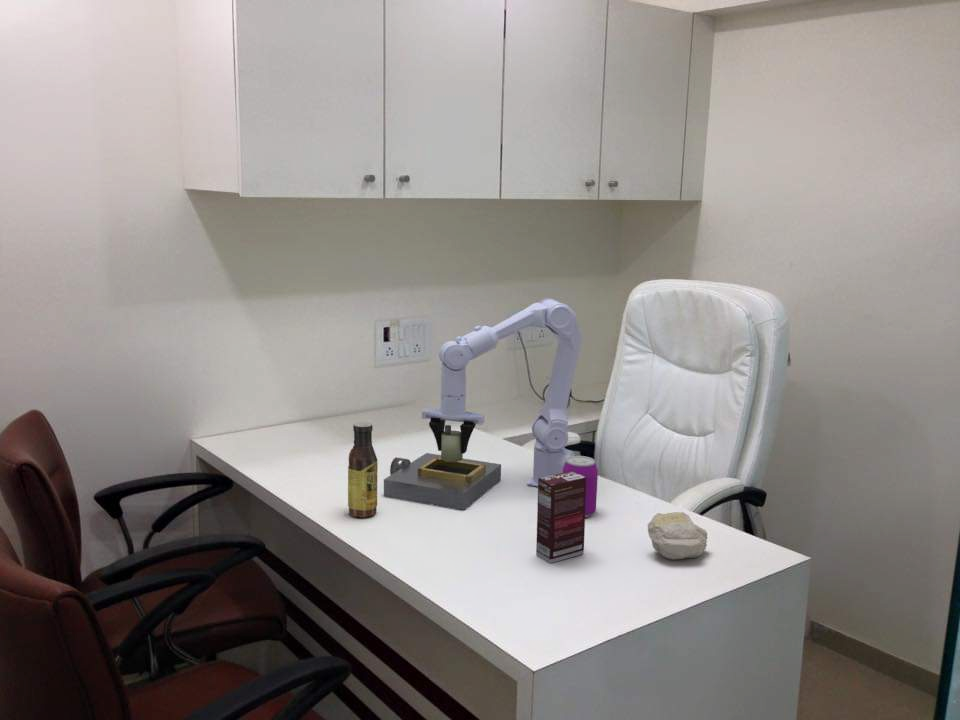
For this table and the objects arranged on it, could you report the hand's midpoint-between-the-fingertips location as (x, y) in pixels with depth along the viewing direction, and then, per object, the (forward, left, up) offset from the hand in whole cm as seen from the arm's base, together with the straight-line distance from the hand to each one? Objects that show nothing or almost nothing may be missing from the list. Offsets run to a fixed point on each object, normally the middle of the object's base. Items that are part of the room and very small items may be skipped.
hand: (452, 451), depth 201 cm
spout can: (0, 0, -2) cm, 2 cm away
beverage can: (-31, +1, -10) cm, 32 cm away
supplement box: (-34, +24, -10) cm, 43 cm away
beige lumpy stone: (-55, +14, -10) cm, 58 cm away
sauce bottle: (+11, +22, -10) cm, 26 cm away
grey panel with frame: (+3, 0, -9) cm, 10 cm away
